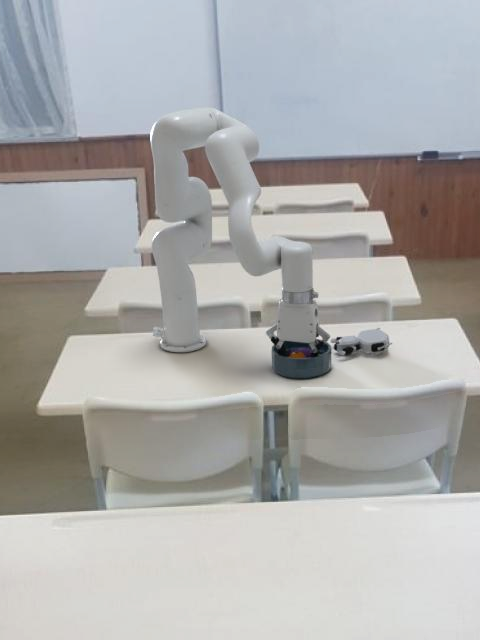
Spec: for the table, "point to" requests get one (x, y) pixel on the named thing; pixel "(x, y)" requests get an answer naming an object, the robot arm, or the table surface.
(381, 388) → the table surface
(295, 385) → the table surface
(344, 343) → the robot toy
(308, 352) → the aubergine toy
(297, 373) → the bowl
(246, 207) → the robot arm
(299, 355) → the orange toy
